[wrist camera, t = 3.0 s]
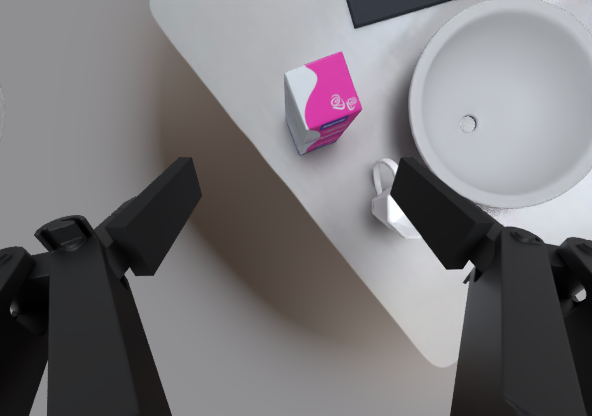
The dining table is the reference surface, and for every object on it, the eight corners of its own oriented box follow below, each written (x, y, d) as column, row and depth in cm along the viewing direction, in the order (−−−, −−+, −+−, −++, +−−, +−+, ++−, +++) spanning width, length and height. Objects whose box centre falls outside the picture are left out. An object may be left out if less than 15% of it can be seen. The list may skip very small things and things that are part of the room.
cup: (372, 238, 31) (400, 251, 23) (345, 175, 31) (364, 165, 23) (416, 219, 31) (459, 225, 23) (390, 155, 31) (424, 139, 23)
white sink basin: (377, 46, 31) (401, 4, 24) (542, 33, 31) (610, -13, 24) (392, 215, 31) (418, 218, 25) (553, 199, 32) (622, 198, 25)
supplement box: (299, 157, 31) (304, 131, 19) (284, 118, 31) (280, 68, 19) (337, 143, 31) (364, 108, 19) (322, 104, 31) (341, 45, 19)
